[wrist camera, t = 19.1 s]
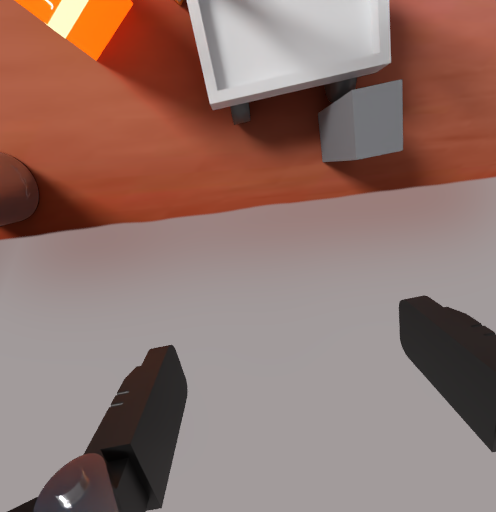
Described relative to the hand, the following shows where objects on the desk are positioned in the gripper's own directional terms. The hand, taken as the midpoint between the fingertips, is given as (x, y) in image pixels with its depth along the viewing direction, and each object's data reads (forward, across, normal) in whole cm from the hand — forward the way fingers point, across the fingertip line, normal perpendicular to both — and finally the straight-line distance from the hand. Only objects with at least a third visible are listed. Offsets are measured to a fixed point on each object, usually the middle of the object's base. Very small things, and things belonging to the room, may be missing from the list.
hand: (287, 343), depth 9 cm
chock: (+30, -13, -7) cm, 34 cm away
